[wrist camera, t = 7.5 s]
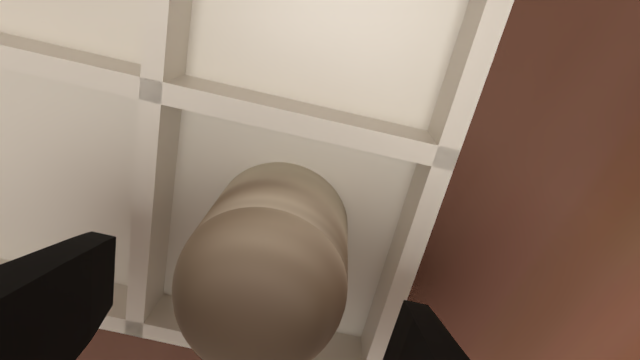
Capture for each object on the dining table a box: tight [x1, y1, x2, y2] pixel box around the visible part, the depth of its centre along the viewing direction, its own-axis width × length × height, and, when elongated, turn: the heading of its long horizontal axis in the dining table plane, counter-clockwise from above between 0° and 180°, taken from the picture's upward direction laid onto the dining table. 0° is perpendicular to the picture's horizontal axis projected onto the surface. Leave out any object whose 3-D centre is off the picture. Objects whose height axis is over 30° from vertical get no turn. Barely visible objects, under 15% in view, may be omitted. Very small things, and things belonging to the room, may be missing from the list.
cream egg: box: [172, 162, 348, 360], centre depth 11 cm, size 4×4×6 cm
